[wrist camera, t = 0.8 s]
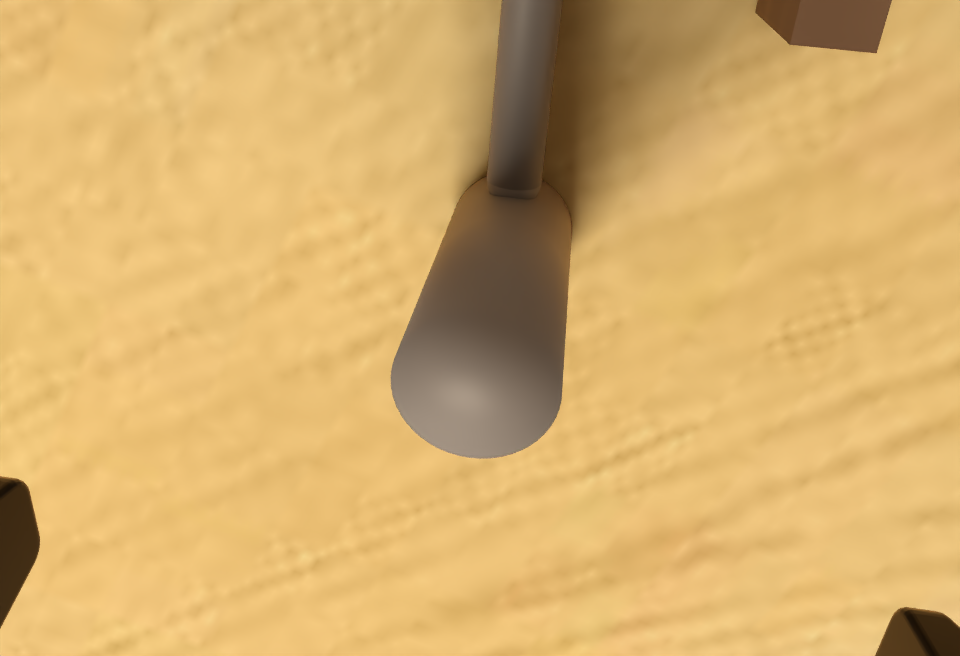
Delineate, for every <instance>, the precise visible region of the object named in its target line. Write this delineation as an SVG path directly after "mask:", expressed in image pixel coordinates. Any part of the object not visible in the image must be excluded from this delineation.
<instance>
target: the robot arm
mask: <svg viewBox="0 0 960 656" xmlns="http://www.w3.org/2000/svg"><path fill="white" fill-rule="evenodd" d="M39 547H40V536H39V531H38V527H37V522H36V518H35V513H34V509H33V504H32V500H31V496H30V491H29V488H28V486H27V485H26V484H25V483H24V482H23V481H21V480H19V479H15V478H8V477H1V476H0V628H1V626H2V624H3V622H4V620H5V619H6V617H7V615H8V613H9V611H10V609H11V607H12V605H13V603H14V601H15V599H16V597H17V596H18V594H19V592H20V590H21V588H22V586H23V584H24V582H25V580H26V578H27V576H28V574H29V573H30V571H31V569H32V567H33V565H34V563H35V561H36V558H37V555H38V552H39ZM875 656H960V627H959V626H958V625H957V624H956V623H954V622H953V621H952V620H951V619H950V618H949V617H947V616H946V615H944V614H943V613H940V612H936V611H929V610H923V609H916V608H909V607H904V608H900V609H898V610H897V611H896V612H895V613H894V615H893V616H892V618H891V620H890V623H889V625H888V627H887V630H886V632H885V634H884V636H883V639H882V641H881V643H880V646H879V648H878V650H877V653H876V655H875Z"/></svg>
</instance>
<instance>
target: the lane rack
mask: <svg viewBox="0 0 960 656" xmlns="http://www.w3.org/2000/svg"><path fill="white" fill-rule="evenodd" d="M891 1H892V0H758V3H757V7H756V12H755V13H756V14H758V15H759V16H760V17H761V18H762V19H763V20H764V21H765V22H766V23H767V24H768V25H769V26H770V27H772V28H773V29H774V30H775V31H776V32H777V33H778V34H779V35H780V36H781V37H782V38H783V39H785V40H786V41H787V42H788V43H789V44H790V45H799V46H809V47H820V48H830V49H840V50H850V51H860V52H870V53H877V49H878V46H879V43H880V39H881V36H882V32H883V29H884V25H885V22H886V18H887V15H888V12H889V8H890V5H891Z"/></svg>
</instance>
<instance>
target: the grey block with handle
mask: <svg viewBox="0 0 960 656" xmlns="http://www.w3.org/2000/svg"><path fill="white" fill-rule="evenodd" d="M562 2H563V0H502V4H501V16H500V28H499V40H498V52H497V64H496V76H495V88H494V99H493V111H492V123H491V135H490V147H489V159H488V171H487V176H486V177H484V178H482V179H480V180H478V181H477V182H476V183H474V184H473V185H472V186H471V187H469V188H468V189H467V190H466V192H465V193H464V194H463V195H462V197H461V198H460V200H459V202H458V204H457V206H456V208H455V211H454V213H453V216H452V218H451V221H450V223H449V226H448V228H447V230H446V233H445V235H444V238H443V240H442V243H441V245H440V248H439V250H438V253H437V255H436V257H435V260H434V262H433V265H432V267H431V270H430V272H429V275H428V277H427V280H426V282H425V285H424V287H423V289H422V292H421V294H420V297H419V299H418V302H417V304H416V307H415V309H414V312H413V314H412V317H411V319H410V321H409V324H408V326H407V329H406V331H405V334H404V336H403V339H402V341H401V344H400V346H399V349H398V351H397V353H396V356H395V358H394V362H393V365H392V371H391V389H392V394H393V398H394V401H395V404H396V406H397V408H398V410H399V412H400V414H401V416H402V417H403V419H404V420H405V422H406V423H407V424H408V425H409V426H410V427H411V429H412V430H413V431H414V432H416V433H417V434H418V435H419V436H420V437H421V438H423V439H424V440H425V441H427V442H428V443H430V444H432V445H433V446H435V447H437V448H439V449H441V450H444V451H446V452H448V453H452V454H455V455H458V456H463V457H469V458H496V457H502V456H506V455H510V454H513V453H516V452H518V451H521V450H523V449H525V448H527V447H528V446H530V445H532V444H533V443H534V442H536V441H537V440H538V439H540V438H541V437H542V436H543V435H544V434H545V433H546V431H547V430H548V429H549V428H550V427H551V425H552V423H553V422H554V420H555V418H556V416H557V413H558V411H559V408H560V404H561V399H562V383H563V367H564V350H565V334H566V318H567V301H568V285H569V268H570V252H571V236H572V224H571V218H570V214H569V211H568V208H567V206H566V204H565V202H564V200H563V199H562V198H561V196H560V195H559V194H558V193H557V191H556V190H555V189H554V188H552V187H551V186H550V185H549V184H548V183H546V182H544V181H543V180H542V174H543V165H544V157H545V148H546V139H547V131H548V122H549V114H550V105H551V96H552V88H553V79H554V71H555V62H556V53H557V45H558V36H559V28H560V19H561V10H562Z"/></svg>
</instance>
